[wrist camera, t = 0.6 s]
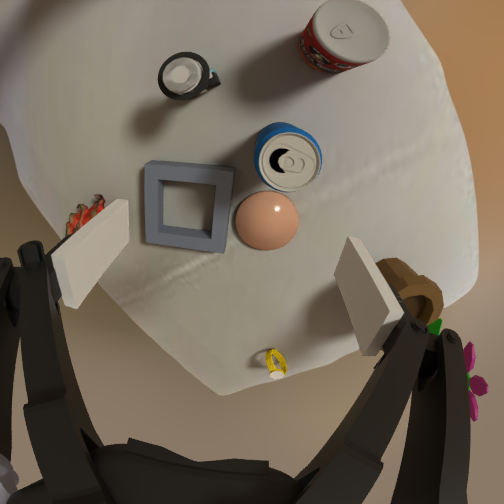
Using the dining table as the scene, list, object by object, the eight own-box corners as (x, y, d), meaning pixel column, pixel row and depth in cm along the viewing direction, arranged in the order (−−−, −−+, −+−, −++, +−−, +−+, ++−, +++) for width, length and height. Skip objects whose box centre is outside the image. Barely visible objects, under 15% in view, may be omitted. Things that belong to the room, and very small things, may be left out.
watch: (262, 347, 54) (261, 369, 48) (273, 342, 53) (273, 364, 47) (278, 362, 55) (278, 384, 50) (289, 358, 55) (290, 379, 49)
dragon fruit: (81, 220, 41) (136, 197, 41) (87, 266, 40) (144, 246, 40) (52, 208, 33) (110, 179, 33) (55, 261, 32) (117, 237, 32)
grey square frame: (151, 160, 35) (144, 164, 33) (235, 168, 35) (233, 172, 33) (151, 235, 41) (146, 242, 39) (225, 245, 41) (224, 253, 39)
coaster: (240, 186, 37) (239, 187, 36) (303, 196, 37) (304, 197, 36) (232, 243, 41) (232, 245, 40) (291, 251, 42) (291, 253, 41)
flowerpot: (416, 298, 46) (480, 424, 20) (352, 320, 49) (392, 465, 23) (418, 237, 40) (521, 375, 14) (343, 260, 42) (409, 437, 16)
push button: (181, 112, 31) (154, 115, 23) (167, 79, 29) (135, 72, 20) (227, 92, 30) (215, 85, 21) (213, 58, 28) (196, 41, 19)
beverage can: (259, 118, 32) (260, 121, 21) (308, 127, 32) (331, 136, 22) (252, 164, 35) (249, 190, 25) (299, 172, 35) (316, 201, 25)
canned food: (285, 46, 27) (296, 22, 17) (325, 15, 24) (349, -15, 14) (328, 86, 29) (356, 78, 20) (366, 53, 26) (404, 38, 17)
